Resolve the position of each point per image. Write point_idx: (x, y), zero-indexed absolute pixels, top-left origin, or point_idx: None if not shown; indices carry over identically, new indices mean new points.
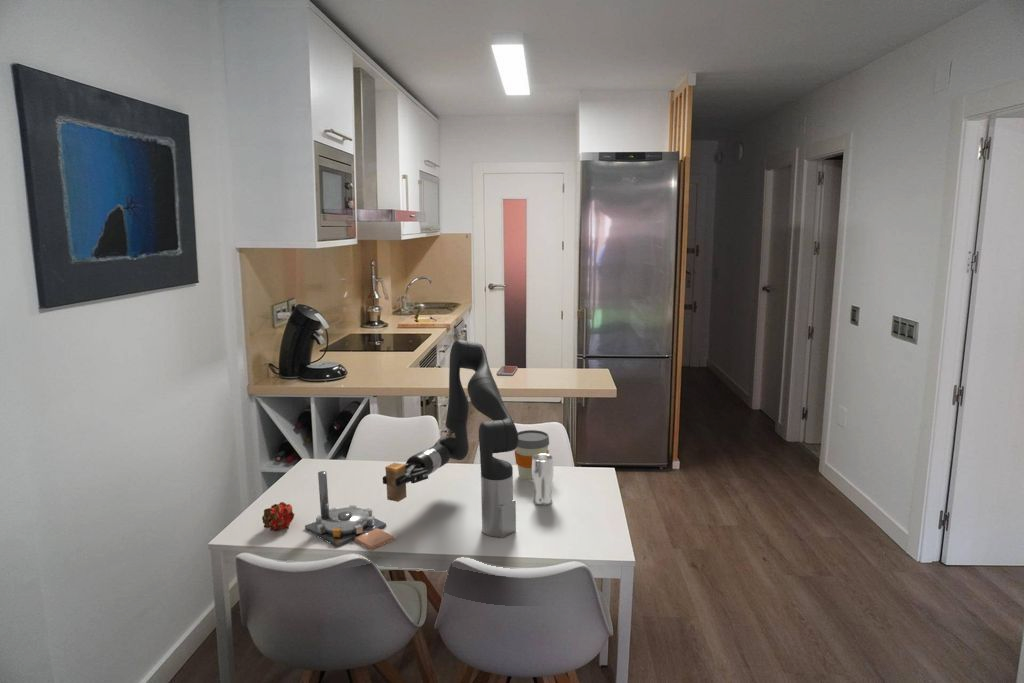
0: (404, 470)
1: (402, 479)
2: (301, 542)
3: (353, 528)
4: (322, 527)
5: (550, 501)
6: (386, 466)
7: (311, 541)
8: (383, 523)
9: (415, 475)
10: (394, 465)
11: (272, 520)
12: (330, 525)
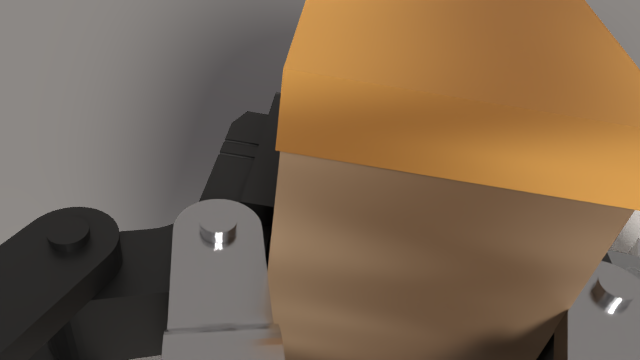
0: (280, 180)
1: (228, 144)
2: (637, 235)
3: None
4: (635, 249)
5: None
6: (588, 5)
7: (612, 249)
8: None
9: (2, 257)
10: (498, 33)
11: None
12: (619, 265)
